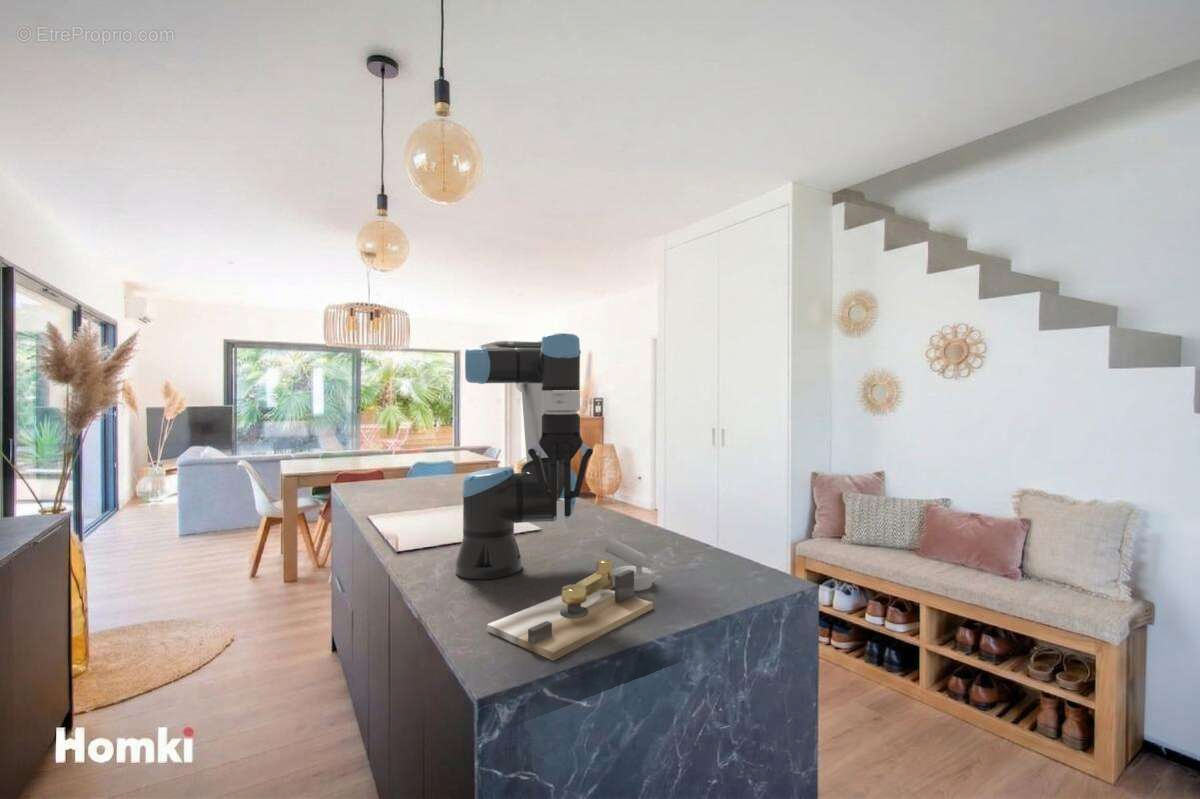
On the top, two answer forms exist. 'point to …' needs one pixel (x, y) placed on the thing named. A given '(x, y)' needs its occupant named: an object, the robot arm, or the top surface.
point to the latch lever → (589, 584)
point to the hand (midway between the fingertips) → (561, 532)
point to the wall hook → (633, 557)
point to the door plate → (572, 619)
